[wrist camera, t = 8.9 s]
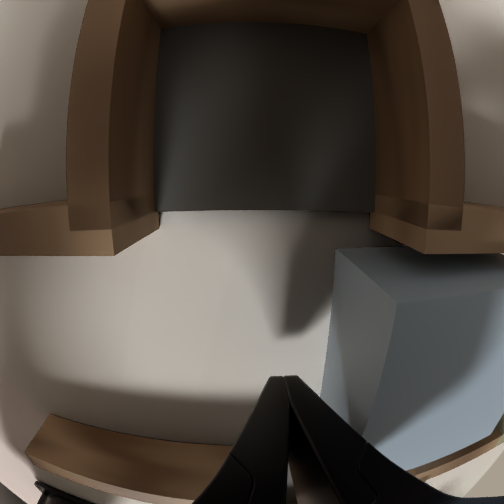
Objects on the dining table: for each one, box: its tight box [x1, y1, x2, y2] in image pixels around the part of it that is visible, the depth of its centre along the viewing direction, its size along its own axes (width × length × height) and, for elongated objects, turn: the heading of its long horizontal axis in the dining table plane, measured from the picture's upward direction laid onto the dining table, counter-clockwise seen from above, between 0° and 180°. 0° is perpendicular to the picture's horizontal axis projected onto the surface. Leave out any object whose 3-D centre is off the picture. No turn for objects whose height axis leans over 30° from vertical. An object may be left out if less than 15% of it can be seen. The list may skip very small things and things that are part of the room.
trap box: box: [0, 0, 504, 504], centre depth 8 cm, size 23×23×3 cm
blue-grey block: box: [320, 247, 504, 471], centre depth 7 cm, size 6×6×4 cm
